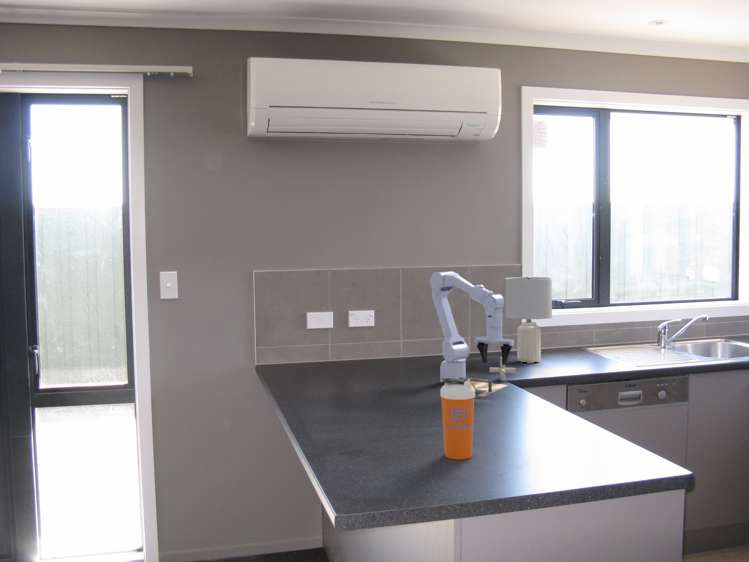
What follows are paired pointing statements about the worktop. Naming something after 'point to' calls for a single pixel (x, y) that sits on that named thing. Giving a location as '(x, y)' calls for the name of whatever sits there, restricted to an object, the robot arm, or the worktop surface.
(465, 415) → the shaker bottle
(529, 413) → the worktop surface
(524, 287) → the lamp
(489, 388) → the shelf board
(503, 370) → the pipe connector
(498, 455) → the worktop surface
